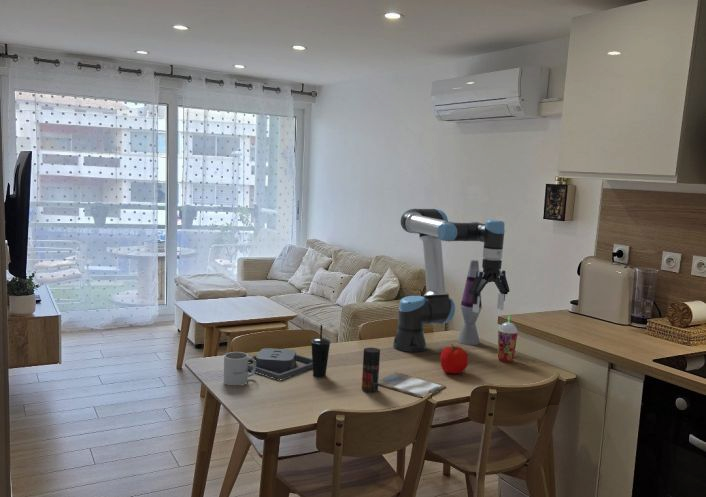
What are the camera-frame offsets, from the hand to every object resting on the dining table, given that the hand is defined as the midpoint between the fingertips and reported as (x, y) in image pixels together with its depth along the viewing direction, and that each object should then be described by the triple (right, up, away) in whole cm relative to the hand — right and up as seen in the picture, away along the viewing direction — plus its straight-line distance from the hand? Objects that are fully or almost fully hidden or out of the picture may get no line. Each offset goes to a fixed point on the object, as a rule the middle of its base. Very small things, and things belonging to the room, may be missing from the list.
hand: (488, 310), depth 234 cm
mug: (-96, -24, -21) cm, 101 cm away
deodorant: (-49, -27, -24) cm, 60 cm away
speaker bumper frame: (-85, -22, -2) cm, 88 cm away
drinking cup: (-68, -24, -11) cm, 73 cm away
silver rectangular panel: (-34, -26, -17) cm, 46 cm away
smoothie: (+12, -24, +19) cm, 33 cm away
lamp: (+1, -20, +46) cm, 50 cm away
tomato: (-14, -25, 0) cm, 29 cm away
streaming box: (-86, -22, -3) cm, 89 cm away
